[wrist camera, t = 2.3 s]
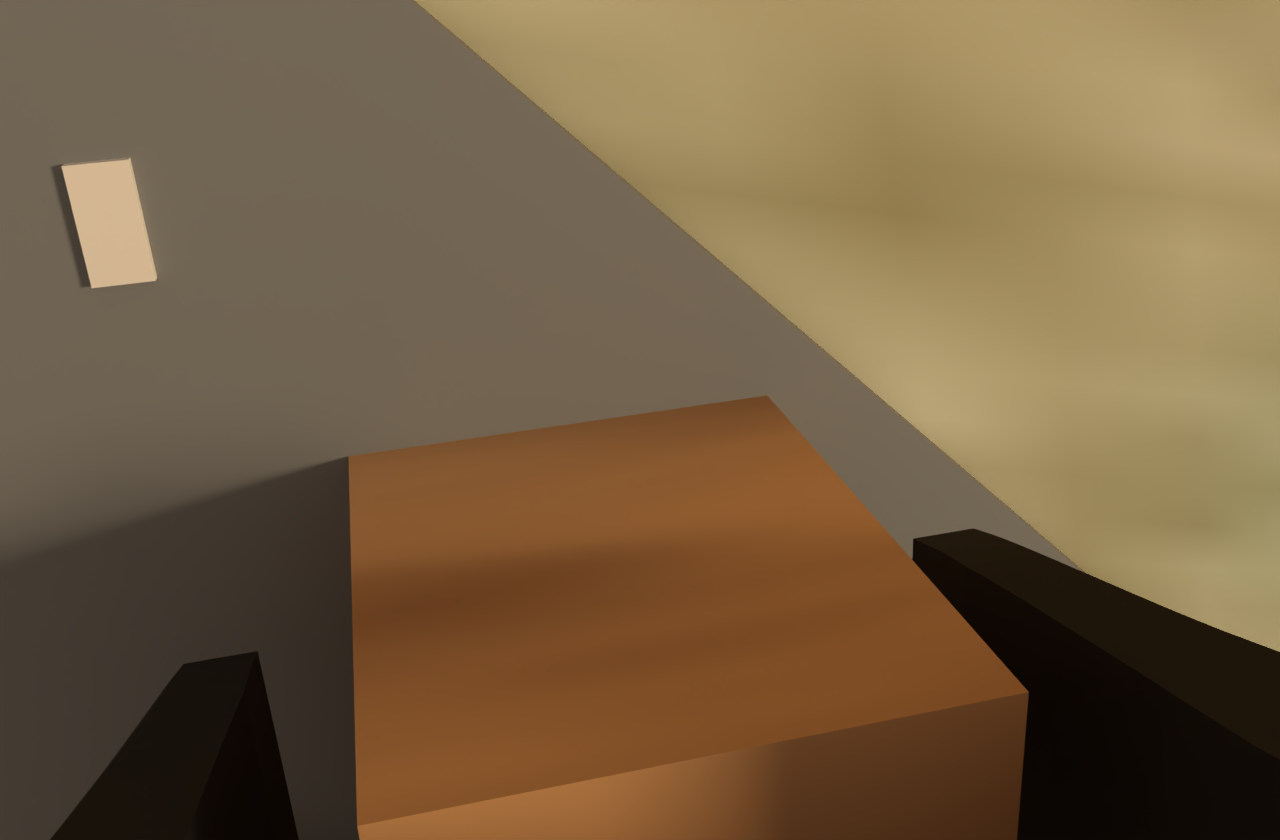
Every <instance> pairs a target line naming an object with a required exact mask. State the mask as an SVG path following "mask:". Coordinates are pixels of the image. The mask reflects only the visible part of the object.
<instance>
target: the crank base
mask: <svg viewBox="0 0 1280 840" xmlns="http://www.w3.org/2000/svg"><path fill="white" fill-rule="evenodd" d="M766 395H767V396H768V397H769V398H770V399H771V400H772V401H773V403H774V404H775V405H776V406H777V407H778V408H779V409H780V410H781V412H782V413H783V414H784V415H785V416H786V417H787V418H788V420H789V421H790V422H791V423H792V424H793V425H794V426H795V427H796V429H797V430H798V431H799V432H800V433H801V434H802V435H803V437H804V438H805V439H806V440H807V441H808V442H809V443H810V444H811V446H812V447H813V448H814V449H815V450H816V451H817V452H818V454H819V455H820V456H821V457H822V458H823V459H824V460H825V462H826V463H827V464H828V465H829V466H830V467H831V468H832V469H833V471H834V472H835V473H836V474H837V475H838V476H839V477H840V479H841V480H842V481H843V482H844V483H845V484H846V485H847V486H848V488H849V489H850V490H851V491H852V492H853V493H854V494H855V496H856V497H857V498H858V499H859V500H860V501H861V502H862V503H863V505H864V506H865V507H866V508H867V509H868V510H869V511H870V513H871V514H872V515H873V516H874V517H875V518H876V519H877V520H878V522H879V523H880V524H881V525H882V526H883V527H884V528H885V530H886V531H887V532H888V533H889V534H890V535H891V536H892V538H893V539H894V540H895V541H896V542H897V543H898V544H899V545H900V547H901V548H902V549H903V550H904V551H905V552H906V553H907V555H908V556H909V557H910V558H911V559H912V557H913V539H914V538H920V537H926V536H931V535H937V534H943V533H949V532H955V531H961V530H966V529H972V528H974V529H977V530H980V531H983V532H986V533H990V534H993V535H995V536H998V537H1001V538H1003V539H1006V540H1009V541H1011V542H1014V543H1016V544H1019V545H1021V546H1024V547H1026V548H1028V549H1031V550H1033V551H1035V552H1038V553H1040V554H1043V555H1045V556H1047V557H1050V558H1052V559H1054V560H1057V561H1059V562H1061V563H1064V564H1066V565H1068V566H1070V567H1073V568H1075V569H1077V570H1080V571H1082V572H1084V571H1083V570H1082V569H1080V568H1079V567H1078V566H1077V565H1076V564H1075V563H1073V562H1072V561H1071V560H1070V559H1069V558H1068V557H1066V556H1065V555H1064V554H1063V553H1062V552H1060V551H1059V550H1058V549H1057V548H1056V547H1055V546H1053V545H1052V544H1051V543H1050V542H1049V541H1048V540H1046V539H1045V538H1044V537H1043V536H1042V535H1041V534H1039V533H1038V532H1037V531H1036V530H1035V529H1034V528H1032V527H1031V526H1030V525H1029V524H1028V523H1026V522H1025V521H1024V520H1023V519H1022V518H1021V517H1019V516H1018V515H1017V514H1016V513H1015V512H1014V511H1012V510H1011V509H1010V508H1009V507H1008V506H1007V505H1005V504H1004V503H1003V502H1002V501H1001V500H999V499H998V498H997V497H996V496H995V495H994V494H992V493H991V492H990V491H989V490H988V489H987V488H985V487H984V486H983V485H982V484H981V483H980V482H978V481H977V480H976V479H975V478H974V477H973V476H971V475H970V474H969V473H968V472H967V471H965V470H964V469H963V468H962V467H961V466H960V465H958V464H957V463H956V462H955V461H954V460H953V459H951V458H950V457H949V456H948V455H947V454H946V453H944V452H943V451H942V450H941V449H940V448H938V447H937V446H936V445H935V444H934V443H933V442H931V441H930V440H929V439H928V438H927V437H926V436H924V435H923V434H922V433H921V432H920V431H919V430H917V429H916V428H915V427H914V426H913V425H912V424H910V423H909V422H908V421H907V420H906V419H904V418H903V417H902V416H901V415H900V414H899V413H897V412H896V411H895V410H894V409H893V408H892V407H890V406H889V405H888V404H887V403H886V402H885V401H883V400H882V399H881V398H880V397H879V396H877V395H876V394H875V393H874V392H873V391H872V390H870V389H869V388H868V387H867V386H866V385H865V384H863V383H862V382H861V381H860V380H859V379H858V378H856V377H855V376H854V375H853V374H852V373H851V372H849V371H848V370H847V369H846V368H845V367H843V366H842V365H841V364H840V363H839V362H838V361H836V360H835V359H834V358H833V357H832V356H831V355H829V354H828V353H827V352H826V351H825V350H824V349H822V348H821V347H820V346H819V345H818V344H817V343H815V342H814V341H813V340H812V339H811V338H809V337H808V336H807V335H806V334H805V333H804V332H802V331H801V330H800V329H799V328H798V327H797V326H795V325H794V324H793V323H792V322H791V321H790V320H788V319H787V318H786V317H785V316H784V315H782V314H781V313H780V312H779V311H778V310H777V309H775V308H774V307H773V306H772V305H771V304H770V303H768V302H767V301H766V300H765V299H764V298H763V297H761V296H760V295H759V294H758V293H757V292H756V291H754V290H753V289H752V288H751V287H750V286H748V285H747V284H746V283H745V282H744V281H743V280H741V279H740V278H739V277H738V276H737V275H736V274H734V273H733V272H732V271H731V270H730V269H729V268H727V267H726V266H725V265H724V264H723V263H721V262H720V261H719V260H718V259H717V258H716V257H714V256H713V255H712V254H711V253H710V252H709V251H707V250H706V249H705V248H704V247H703V246H702V245H700V244H699V243H698V242H697V241H696V240H695V239H693V238H692V237H691V236H690V235H689V234H687V233H686V232H685V231H684V230H683V229H682V228H680V227H679V226H678V225H677V224H676V223H675V222H673V221H672V220H671V219H670V218H669V217H668V216H666V215H665V214H664V213H663V212H662V211H660V210H659V209H658V208H657V207H656V206H655V205H653V204H652V203H651V202H650V201H649V200H648V199H646V198H645V197H644V196H643V195H642V194H641V193H639V192H638V191H637V190H636V189H635V188H634V187H632V186H631V185H630V184H629V183H628V182H626V181H625V180H624V179H623V178H622V177H621V176H619V175H618V174H617V173H616V172H615V171H614V170H612V169H611V168H610V167H609V166H608V165H607V164H605V163H604V162H603V161H602V160H601V159H599V158H598V157H597V156H596V155H595V154H594V153H592V152H591V151H590V150H589V149H588V148H587V147H585V146H584V145H583V144H582V143H581V142H580V141H578V140H577V139H576V138H575V137H574V136H573V135H571V134H570V133H569V132H568V131H567V130H565V129H564V128H563V127H562V126H561V125H560V124H558V123H557V122H556V121H555V120H554V119H553V118H551V117H550V116H549V115H548V114H547V113H546V112H544V111H543V110H542V109H541V108H540V107H538V106H537V105H536V104H535V103H534V102H533V101H531V100H530V99H529V98H528V97H527V96H526V95H524V94H523V93H522V92H521V91H520V90H519V89H517V88H516V87H515V86H514V85H513V84H512V83H510V82H509V81H508V80H507V79H506V78H504V77H503V76H502V75H501V74H500V73H499V72H497V71H496V70H495V69H494V68H493V67H492V66H490V65H489V64H488V63H487V62H486V61H485V60H483V59H482V58H481V57H480V56H479V55H478V54H476V53H475V52H474V51H473V50H472V49H470V48H469V47H468V46H467V45H466V44H465V43H463V42H462V41H461V40H460V39H459V38H458V37H456V36H455V35H454V34H453V33H452V32H451V31H449V30H448V29H447V28H446V27H445V26H443V25H442V24H441V23H440V22H439V21H438V20H436V19H435V18H434V17H433V16H432V15H431V14H429V13H428V12H427V11H426V10H425V9H424V8H422V7H421V6H420V5H419V4H418V3H417V2H415V1H414V0H0V840H50V839H51V837H52V836H53V835H54V834H55V832H56V831H57V830H58V829H59V827H60V826H61V825H62V824H63V822H64V821H65V820H66V819H67V817H68V816H69V815H70V813H71V812H72V811H73V810H74V808H75V807H76V806H77V804H78V803H79V802H80V801H81V799H82V798H83V797H84V795H85V794H86V793H87V792H88V790H89V789H90V788H91V786H92V785H93V784H94V783H95V781H96V780H97V779H98V777H99V776H100V775H101V774H102V772H103V771H104V770H105V768H106V767H107V766H108V764H109V763H110V762H111V760H112V759H113V758H114V756H115V755H116V754H117V752H118V751H119V750H120V748H121V747H122V745H123V744H124V743H125V741H126V740H127V739H128V737H129V736H130V735H131V733H132V732H133V730H134V729H135V728H136V726H137V725H138V724H139V722H140V721H141V719H142V718H143V717H144V715H145V714H146V713H147V711H148V710H149V708H150V707H151V706H152V704H153V703H154V701H155V700H156V699H157V697H158V696H159V695H160V693H161V692H162V691H163V689H164V688H165V687H166V685H167V684H168V683H169V681H170V680H171V679H172V677H173V676H174V675H175V674H176V672H177V671H178V670H179V669H180V668H181V666H182V665H183V664H185V663H191V662H197V661H203V660H209V659H214V658H220V657H226V656H232V655H238V654H244V653H249V652H255V651H258V655H259V660H260V664H261V669H262V673H263V678H264V682H265V687H266V692H267V696H268V701H269V705H270V710H271V715H272V719H273V724H274V728H275V733H276V737H277V742H278V747H279V751H280V756H281V760H282V765H283V769H284V774H285V779H286V783H287V788H288V792H289V797H290V801H291V806H292V811H293V815H294V820H295V824H296V829H297V833H298V838H299V840H360V838H359V833H358V828H357V797H356V754H355V712H354V669H353V626H352V584H351V541H350V499H349V456H353V455H360V454H367V453H374V452H381V451H388V450H395V449H402V448H408V447H415V446H422V445H429V444H436V443H443V442H450V441H457V440H463V439H470V438H477V437H484V436H491V435H498V434H505V433H512V432H518V431H525V430H532V429H539V428H546V427H553V426H560V425H567V424H574V423H580V422H587V421H594V420H601V419H608V418H615V417H622V416H629V415H635V414H642V413H649V412H656V411H663V410H670V409H677V408H684V407H690V406H697V405H704V404H711V403H718V402H725V401H732V400H739V399H745V398H752V397H759V396H766ZM1084 573H1085V572H1084Z"/></svg>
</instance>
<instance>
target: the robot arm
mask: <svg viewBox="0 0 1280 840" xmlns="http://www.w3.org/2000/svg"><path fill="white" fill-rule="evenodd" d="M912 560H913V561H914V562H915V564H916V565H917V566H918V567H919V568H920V569H921V570H922V572H923V573H924V574H925V575H926V576H927V577H928V578H929V579H930V581H931V582H932V583H933V584H934V585H935V586H936V587H937V589H938V590H939V591H940V592H941V593H942V594H943V595H944V597H945V598H946V599H947V600H948V601H949V602H950V603H951V604H952V606H953V607H954V608H955V609H956V610H957V611H958V612H959V614H960V615H961V616H962V617H963V618H964V619H965V620H966V621H967V623H968V624H969V625H970V626H971V627H972V628H973V629H974V631H975V632H976V633H977V634H978V635H979V636H980V637H981V638H982V640H983V641H984V642H985V643H986V644H987V645H988V646H989V648H990V649H991V650H992V651H993V652H994V653H995V654H996V656H997V657H998V658H999V659H1000V660H1001V661H1002V662H1003V663H1004V665H1005V666H1006V667H1007V668H1008V669H1009V670H1010V671H1011V673H1012V674H1013V675H1014V676H1015V677H1016V678H1017V679H1018V680H1019V682H1020V683H1021V684H1022V685H1023V686H1024V687H1025V688H1026V690H1027V691H1028V692H1029V696H1028V708H1027V720H1026V733H1025V745H1024V758H1023V770H1022V782H1021V795H1020V807H1019V819H1018V832H1017V840H1280V652H1278V651H1275V650H1273V649H1270V648H1267V647H1265V646H1262V645H1259V644H1257V643H1254V642H1251V641H1249V640H1246V639H1243V638H1241V637H1238V636H1235V635H1232V634H1230V633H1227V632H1224V631H1222V630H1219V629H1217V628H1214V627H1212V626H1210V625H1207V624H1205V623H1202V622H1200V621H1197V620H1195V619H1192V618H1190V617H1187V616H1185V615H1182V614H1180V613H1177V612H1175V611H1173V610H1170V609H1168V608H1165V607H1163V606H1161V605H1158V604H1156V603H1154V602H1151V601H1149V600H1147V599H1144V598H1142V597H1139V596H1137V595H1135V594H1132V593H1130V592H1128V591H1125V590H1123V589H1121V588H1119V587H1116V586H1114V585H1112V584H1109V583H1107V582H1105V581H1102V580H1100V579H1098V578H1096V577H1093V576H1091V575H1089V574H1086V573H1084V572H1082V571H1080V570H1077V569H1075V568H1073V567H1070V566H1068V565H1066V564H1064V563H1061V562H1059V561H1057V560H1054V559H1052V558H1050V557H1047V556H1045V555H1043V554H1040V553H1038V552H1035V551H1033V550H1031V549H1028V548H1026V547H1024V546H1021V545H1019V544H1016V543H1014V542H1011V541H1009V540H1006V539H1003V538H1001V537H998V536H995V535H993V534H990V533H986V532H983V531H980V530H977V529H974V528H972V529H966V530H961V531H955V532H949V533H943V534H937V535H931V536H926V537H920V538H914V539H913V557H912ZM50 840H299V838H298V833H297V829H296V824H295V820H294V815H293V811H292V806H291V801H290V797H289V792H288V788H287V783H286V779H285V774H284V769H283V765H282V760H281V756H280V751H279V747H278V742H277V737H276V733H275V728H274V724H273V719H272V715H271V710H270V705H269V701H268V696H267V692H266V687H265V682H264V678H263V673H262V669H261V664H260V660H259V655H258V651H255V652H249V653H244V654H238V655H232V656H226V657H220V658H214V659H209V660H203V661H197V662H191V663H185V664H183V665H182V666H181V668H180V669H179V670H178V671H177V672H176V674H175V675H174V676H173V677H172V679H171V680H170V681H169V683H168V684H167V685H166V687H165V688H164V689H163V691H162V692H161V693H160V695H159V696H158V697H157V699H156V700H155V701H154V703H153V704H152V706H151V707H150V708H149V710H148V711H147V713H146V714H145V715H144V717H143V718H142V719H141V721H140V722H139V724H138V725H137V726H136V728H135V729H134V730H133V732H132V733H131V735H130V736H129V737H128V739H127V740H126V741H125V743H124V744H123V745H122V747H121V748H120V750H119V751H118V752H117V754H116V755H115V756H114V758H113V759H112V760H111V762H110V763H109V764H108V766H107V767H106V768H105V770H104V771H103V772H102V774H101V775H100V776H99V777H98V779H97V780H96V781H95V783H94V784H93V785H92V786H91V788H90V789H89V790H88V792H87V793H86V794H85V795H84V797H83V798H82V799H81V801H80V802H79V803H78V804H77V806H76V807H75V808H74V810H73V811H72V812H71V813H70V815H69V816H68V817H67V819H66V820H65V821H64V822H63V824H62V825H61V826H60V827H59V829H58V830H57V831H56V832H55V834H54V835H53V836H52V837H51V839H50Z"/></svg>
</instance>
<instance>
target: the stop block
mask: <svg viewBox="0 0 1280 840" xmlns="http://www.w3.org/2000/svg"><path fill="white" fill-rule="evenodd" d="M349 499H350V541H351V584H352V626H353V669H354V712H355V754H356V797H357V828H358V833H359V838H360V840H1017V832H1018V819H1019V807H1020V795H1021V782H1022V770H1023V758H1024V745H1025V733H1026V720H1027V708H1028V696H1029V692H1028V691H1027V690H1026V688H1025V687H1024V686H1023V685H1022V684H1021V683H1020V682H1019V680H1018V679H1017V678H1016V677H1015V676H1014V675H1013V674H1012V673H1011V671H1010V670H1009V669H1008V668H1007V667H1006V666H1005V665H1004V663H1003V662H1002V661H1001V660H1000V659H999V658H998V657H997V656H996V654H995V653H994V652H993V651H992V650H991V649H990V648H989V646H988V645H987V644H986V643H985V642H984V641H983V640H982V638H981V637H980V636H979V635H978V634H977V633H976V632H975V631H974V629H973V628H972V627H971V626H970V625H969V624H968V623H967V621H966V620H965V619H964V618H963V617H962V616H961V615H960V614H959V612H958V611H957V610H956V609H955V608H954V607H953V606H952V604H951V603H950V602H949V601H948V600H947V599H946V598H945V597H944V595H943V594H942V593H941V592H940V591H939V590H938V589H937V587H936V586H935V585H934V584H933V583H932V582H931V581H930V579H929V578H928V577H927V576H926V575H925V574H924V573H923V572H922V570H921V569H920V568H919V567H918V566H917V565H916V564H915V562H914V561H913V560H912V559H911V558H910V557H909V556H908V555H907V553H906V552H905V551H904V550H903V549H902V548H901V547H900V545H899V544H898V543H897V542H896V541H895V540H894V539H893V538H892V536H891V535H890V534H889V533H888V532H887V531H886V530H885V528H884V527H883V526H882V525H881V524H880V523H879V522H878V520H877V519H876V518H875V517H874V516H873V515H872V514H871V513H870V511H869V510H868V509H867V508H866V507H865V506H864V505H863V503H862V502H861V501H860V500H859V499H858V498H857V497H856V496H855V494H854V493H853V492H852V491H851V490H850V489H849V488H848V486H847V485H846V484H845V483H844V482H843V481H842V480H841V479H840V477H839V476H838V475H837V474H836V473H835V472H834V471H833V469H832V468H831V467H830V466H829V465H828V464H827V463H826V462H825V460H824V459H823V458H822V457H821V456H820V455H819V454H818V452H817V451H816V450H815V449H814V448H813V447H812V446H811V444H810V443H809V442H808V441H807V440H806V439H805V438H804V437H803V435H802V434H801V433H800V432H799V431H798V430H797V429H796V427H795V426H794V425H793V424H792V423H791V422H790V421H789V420H788V418H787V417H786V416H785V415H784V414H783V413H782V412H781V410H780V409H779V408H778V407H777V406H776V405H775V404H774V403H773V401H772V400H771V399H770V398H769V397H768V396H767V395H766V396H759V397H752V398H745V399H739V400H732V401H725V402H718V403H711V404H704V405H697V406H690V407H684V408H677V409H670V410H663V411H656V412H649V413H642V414H635V415H629V416H622V417H615V418H608V419H601V420H594V421H587V422H580V423H574V424H567V425H560V426H553V427H546V428H539V429H532V430H525V431H518V432H512V433H505V434H498V435H491V436H484V437H477V438H470V439H463V440H457V441H450V442H443V443H436V444H429V445H422V446H415V447H408V448H402V449H395V450H388V451H381V452H374V453H367V454H360V455H353V456H349Z"/></svg>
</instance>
